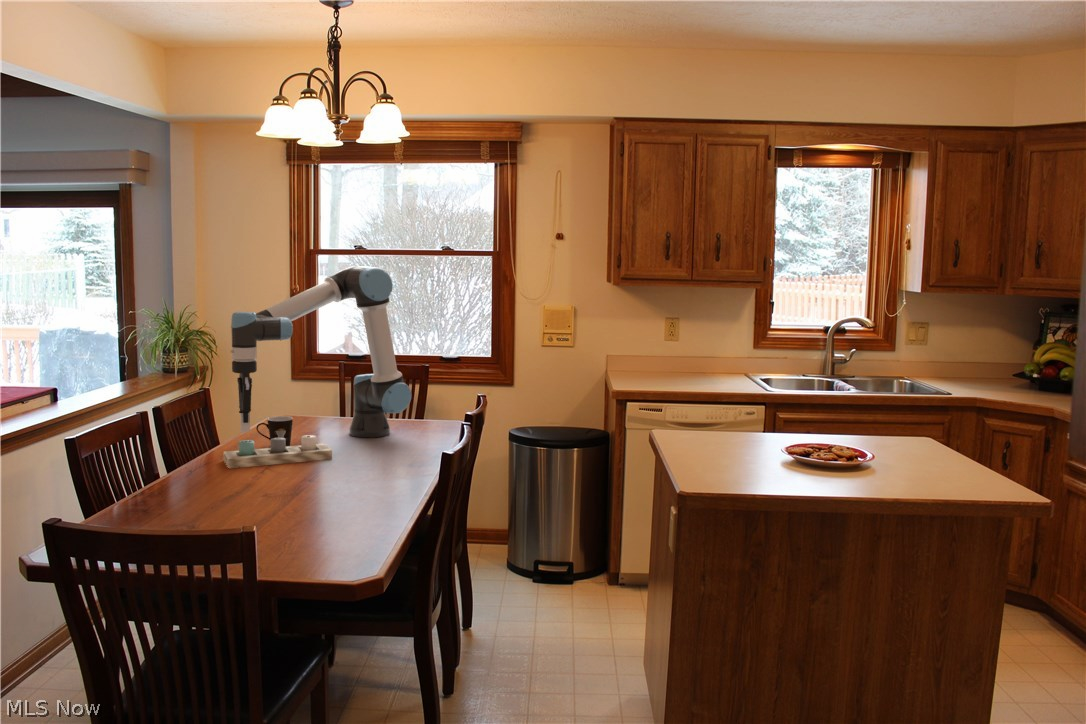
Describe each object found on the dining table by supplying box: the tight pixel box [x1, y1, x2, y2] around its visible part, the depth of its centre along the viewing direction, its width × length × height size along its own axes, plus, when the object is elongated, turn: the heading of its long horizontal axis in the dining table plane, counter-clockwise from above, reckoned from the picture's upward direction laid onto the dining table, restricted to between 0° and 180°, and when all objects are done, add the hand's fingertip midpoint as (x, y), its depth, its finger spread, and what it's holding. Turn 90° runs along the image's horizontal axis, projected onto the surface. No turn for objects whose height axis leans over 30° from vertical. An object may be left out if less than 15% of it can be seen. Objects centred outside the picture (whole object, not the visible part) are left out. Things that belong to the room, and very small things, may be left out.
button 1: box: [300, 434, 317, 451], centre depth 285 cm, size 5×5×5 cm
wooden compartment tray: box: [222, 443, 333, 469], centre depth 281 cm, size 33×11×3 cm, turn 117°
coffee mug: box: [256, 415, 294, 446], centre depth 300 cm, size 12×9×10 cm
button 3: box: [238, 439, 255, 456], centre depth 276 cm, size 5×5×5 cm
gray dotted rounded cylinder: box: [269, 438, 286, 454], centre depth 281 cm, size 5×5×5 cm
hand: (245, 431), depth 275 cm, fingers closed
